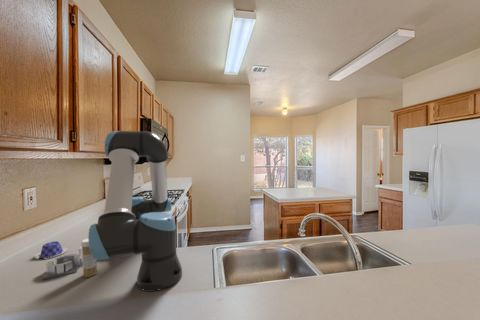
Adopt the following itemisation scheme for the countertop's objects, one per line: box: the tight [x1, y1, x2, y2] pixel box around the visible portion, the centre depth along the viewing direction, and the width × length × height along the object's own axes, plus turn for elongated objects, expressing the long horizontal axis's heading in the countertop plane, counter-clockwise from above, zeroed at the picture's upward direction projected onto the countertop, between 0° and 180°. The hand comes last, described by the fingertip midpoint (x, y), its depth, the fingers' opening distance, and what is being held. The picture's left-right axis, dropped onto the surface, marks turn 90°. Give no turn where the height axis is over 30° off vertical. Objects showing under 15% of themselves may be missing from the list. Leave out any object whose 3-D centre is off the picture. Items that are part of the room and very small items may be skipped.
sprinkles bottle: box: [81, 238, 98, 278], centre depth 80 cm, size 5×5×13 cm
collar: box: [42, 253, 83, 280], centre depth 84 cm, size 10×10×4 cm
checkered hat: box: [33, 240, 69, 260], centre depth 99 cm, size 12×12×5 cm
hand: (96, 251), depth 84 cm, fingers open, 13 cm apart
